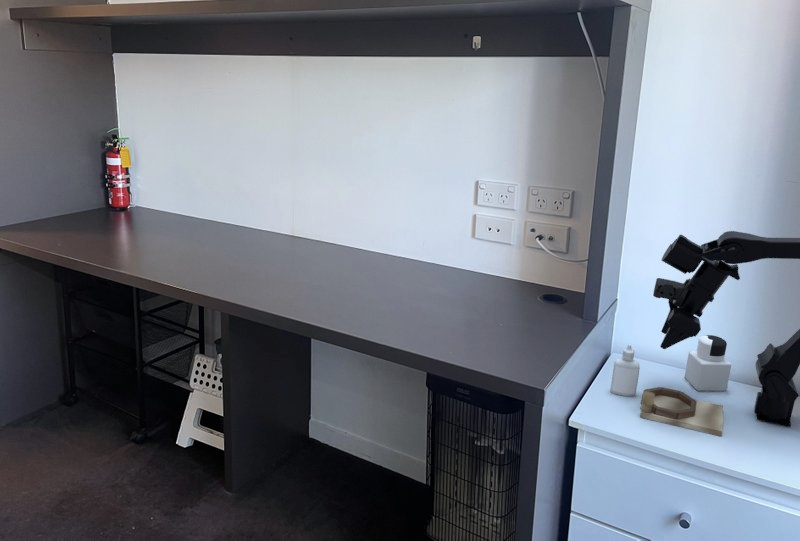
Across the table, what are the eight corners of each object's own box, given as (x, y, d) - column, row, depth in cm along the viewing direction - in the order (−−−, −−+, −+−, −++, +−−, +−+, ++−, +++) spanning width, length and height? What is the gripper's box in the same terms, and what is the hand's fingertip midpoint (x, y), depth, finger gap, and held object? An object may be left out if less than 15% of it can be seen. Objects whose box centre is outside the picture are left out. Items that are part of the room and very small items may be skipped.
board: (722, 410, 147) (726, 389, 146) (721, 436, 137) (725, 414, 135) (644, 393, 154) (647, 373, 152) (637, 416, 144) (640, 395, 142)
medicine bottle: (712, 377, 163) (720, 332, 159) (726, 391, 156) (736, 344, 152) (683, 377, 162) (691, 332, 159) (697, 391, 156) (705, 344, 152)
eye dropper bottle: (629, 400, 151) (636, 351, 147) (607, 391, 155) (613, 343, 151) (638, 393, 154) (646, 346, 150) (616, 385, 157) (623, 338, 154)
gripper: (670, 254, 152) (632, 307, 159) (669, 277, 136) (627, 336, 142) (715, 279, 150) (675, 332, 157) (719, 306, 134) (675, 364, 140)
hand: (662, 340), depth 149 cm, fingers open, 9 cm apart
